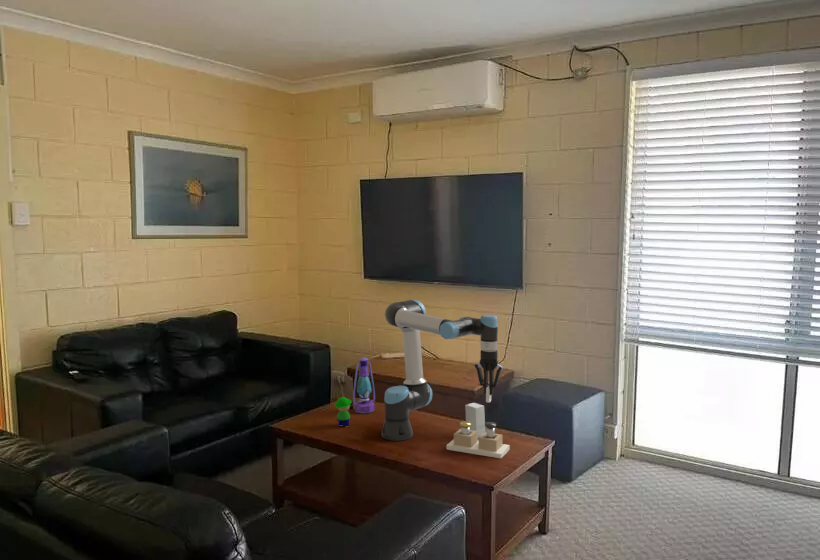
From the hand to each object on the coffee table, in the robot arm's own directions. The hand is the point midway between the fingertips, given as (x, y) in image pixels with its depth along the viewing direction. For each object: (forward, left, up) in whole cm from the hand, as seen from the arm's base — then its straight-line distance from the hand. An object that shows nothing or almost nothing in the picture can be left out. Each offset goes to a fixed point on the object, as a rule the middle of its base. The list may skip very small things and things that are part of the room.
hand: (488, 401), depth 280 cm
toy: (-79, +3, -23) cm, 82 cm away
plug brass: (-11, 0, -21) cm, 23 cm away
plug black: (+1, 0, -19) cm, 19 cm away
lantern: (-82, +29, -23) cm, 90 cm away
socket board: (-5, 0, -23) cm, 23 cm away
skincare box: (-13, +18, -23) cm, 32 cm away
